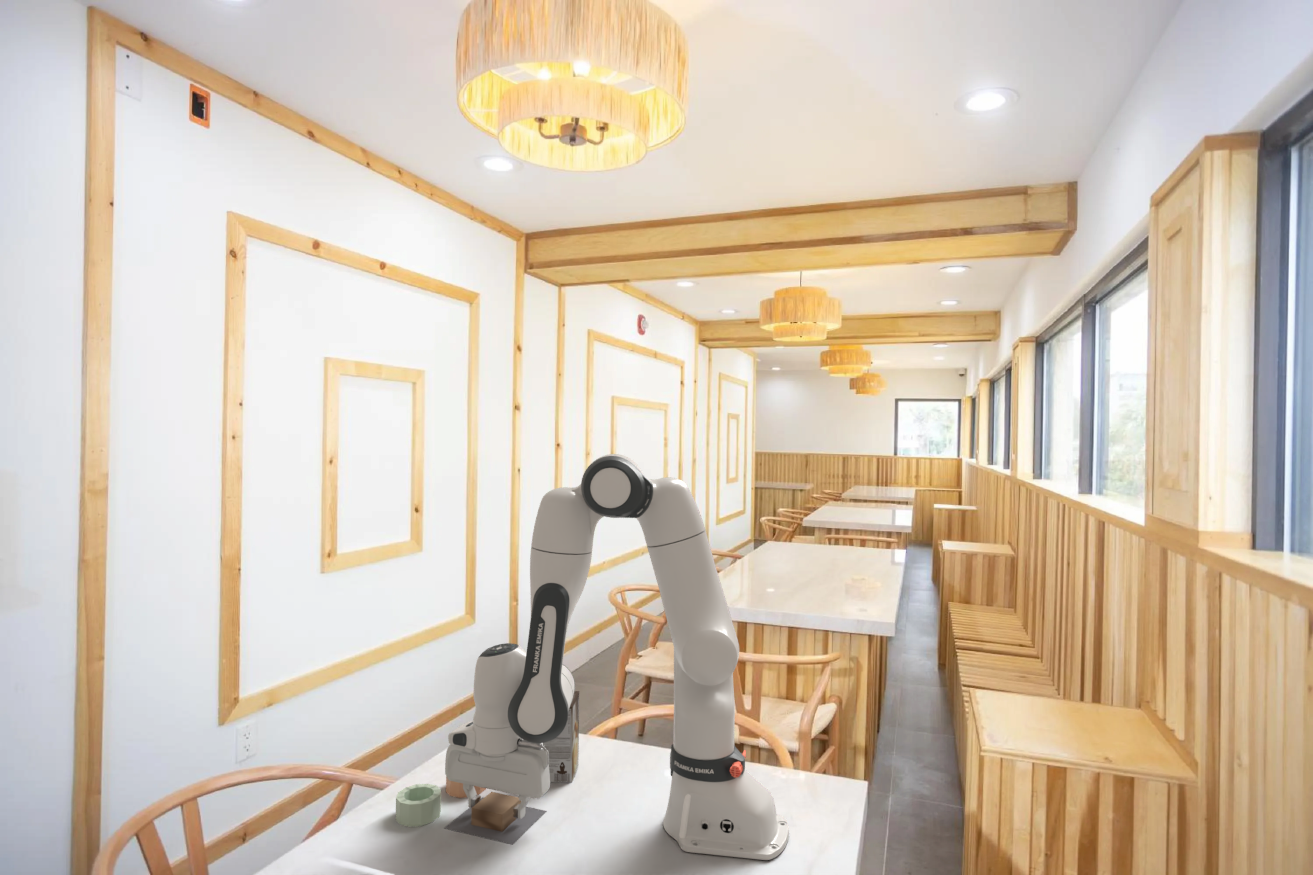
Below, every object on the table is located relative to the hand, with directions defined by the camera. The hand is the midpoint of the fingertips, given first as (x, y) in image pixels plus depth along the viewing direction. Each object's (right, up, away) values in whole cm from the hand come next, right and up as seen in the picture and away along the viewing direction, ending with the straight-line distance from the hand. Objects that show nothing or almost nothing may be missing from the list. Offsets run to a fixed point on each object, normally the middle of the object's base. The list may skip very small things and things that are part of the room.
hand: (496, 811), depth 132 cm
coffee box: (+9, -2, +19) cm, 21 cm away
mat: (0, -2, 0) cm, 2 cm away
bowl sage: (-14, -2, +1) cm, 15 cm away
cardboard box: (0, -1, 0) cm, 1 cm away
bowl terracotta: (-8, -2, +12) cm, 15 cm away
